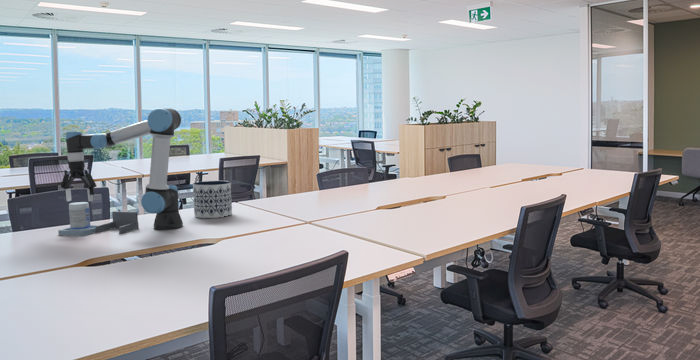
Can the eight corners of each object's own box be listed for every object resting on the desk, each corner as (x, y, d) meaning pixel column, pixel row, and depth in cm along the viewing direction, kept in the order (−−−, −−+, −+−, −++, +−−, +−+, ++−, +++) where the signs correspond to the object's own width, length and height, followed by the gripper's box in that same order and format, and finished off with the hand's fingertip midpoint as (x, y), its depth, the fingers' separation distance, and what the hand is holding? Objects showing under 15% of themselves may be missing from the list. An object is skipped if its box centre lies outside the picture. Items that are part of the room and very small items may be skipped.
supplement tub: (91, 231, 280) (90, 203, 278) (71, 233, 274) (69, 205, 273) (89, 228, 288) (87, 201, 286) (69, 230, 283) (67, 202, 281)
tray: (103, 230, 287) (103, 225, 286) (83, 236, 272) (82, 231, 272) (80, 229, 290) (79, 224, 290) (58, 234, 276) (58, 230, 276)
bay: (114, 227, 294) (113, 211, 293) (138, 228, 290) (137, 212, 289) (96, 232, 280) (94, 215, 279) (121, 233, 276) (120, 216, 275)
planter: (227, 218, 315) (225, 184, 313) (189, 219, 315) (187, 185, 313) (235, 212, 337) (234, 180, 335) (200, 212, 337) (199, 180, 335)
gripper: (101, 159, 277) (105, 199, 280) (61, 160, 284) (65, 199, 286) (91, 160, 270) (94, 202, 273) (50, 161, 276) (54, 202, 279)
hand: (79, 201), depth 279 cm, fingers open, 13 cm apart
